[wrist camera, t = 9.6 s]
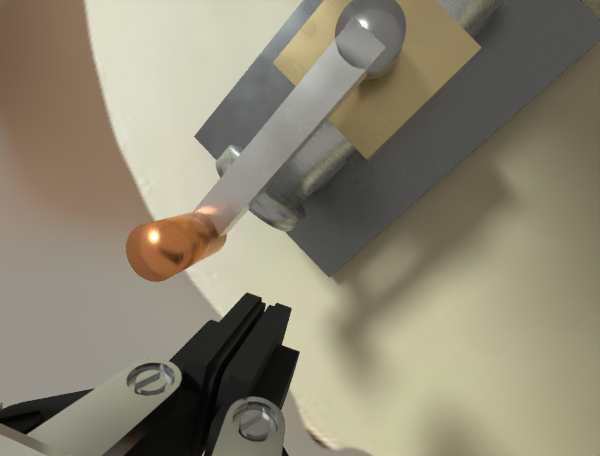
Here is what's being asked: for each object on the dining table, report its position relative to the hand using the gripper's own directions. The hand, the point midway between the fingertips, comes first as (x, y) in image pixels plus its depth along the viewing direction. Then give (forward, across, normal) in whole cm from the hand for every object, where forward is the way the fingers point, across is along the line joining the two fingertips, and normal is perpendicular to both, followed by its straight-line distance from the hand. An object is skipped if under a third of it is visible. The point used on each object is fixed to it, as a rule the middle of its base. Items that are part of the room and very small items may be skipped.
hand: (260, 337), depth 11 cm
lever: (+6, +2, -6) cm, 9 cm away
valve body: (+17, 0, -11) cm, 20 cm away
